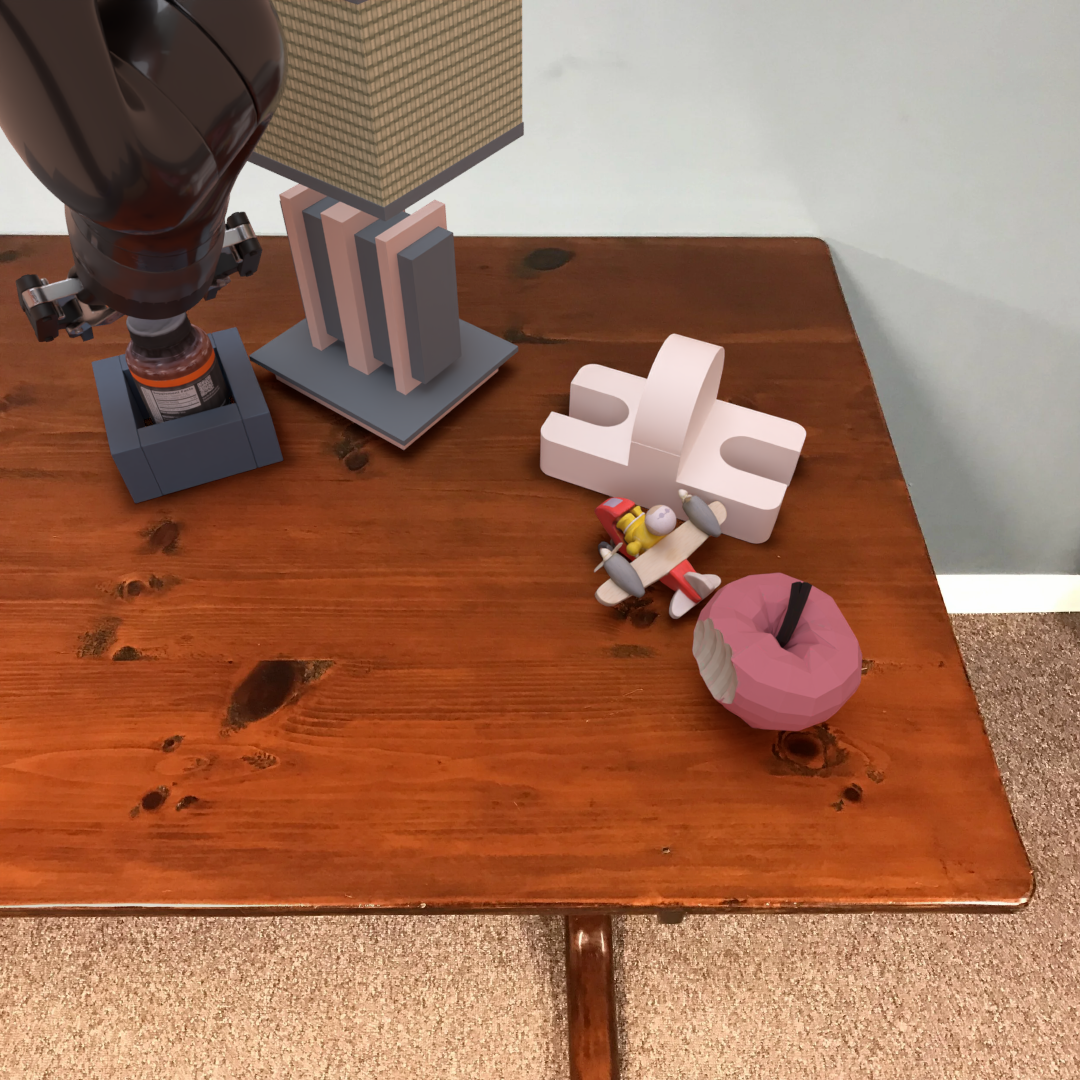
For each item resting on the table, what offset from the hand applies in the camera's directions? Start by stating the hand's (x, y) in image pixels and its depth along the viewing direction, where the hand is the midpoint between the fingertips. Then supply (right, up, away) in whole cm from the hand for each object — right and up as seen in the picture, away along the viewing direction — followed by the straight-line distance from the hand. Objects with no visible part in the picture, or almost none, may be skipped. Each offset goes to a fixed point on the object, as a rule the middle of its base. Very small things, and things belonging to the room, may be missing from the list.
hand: (143, 305), depth 62 cm
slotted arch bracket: (+37, -11, +7) cm, 39 cm away
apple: (+41, -26, -6) cm, 49 cm away
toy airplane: (+36, -19, 0) cm, 40 cm away
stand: (+1, -8, +8) cm, 11 cm away
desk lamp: (+15, -2, +13) cm, 20 cm away
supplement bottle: (+1, -8, +8) cm, 12 cm away
